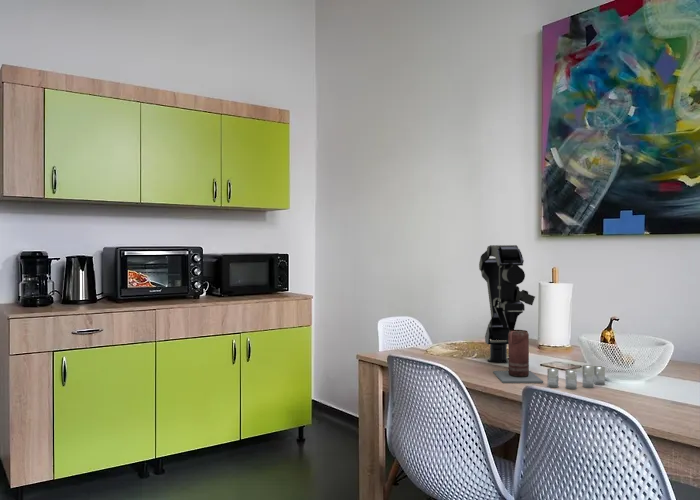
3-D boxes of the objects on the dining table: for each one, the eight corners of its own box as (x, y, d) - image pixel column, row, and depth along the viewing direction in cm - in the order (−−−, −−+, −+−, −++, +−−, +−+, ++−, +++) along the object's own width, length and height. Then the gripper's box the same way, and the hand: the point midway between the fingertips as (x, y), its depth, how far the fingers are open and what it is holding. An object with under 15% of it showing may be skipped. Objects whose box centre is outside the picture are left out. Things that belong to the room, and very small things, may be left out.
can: (504, 375, 180) (503, 330, 180) (516, 372, 184) (515, 328, 184) (520, 378, 175) (520, 332, 175) (532, 375, 179) (532, 330, 179)
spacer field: (545, 385, 169) (545, 365, 169) (598, 378, 177) (598, 359, 177) (564, 391, 162) (564, 370, 162) (618, 384, 170) (618, 363, 170)
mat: (493, 372, 186) (493, 370, 186) (530, 372, 186) (530, 370, 186) (502, 383, 172) (502, 381, 172) (543, 383, 172) (543, 381, 172)
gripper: (540, 284, 181) (541, 334, 181) (524, 281, 200) (525, 326, 200) (505, 284, 182) (505, 334, 182) (492, 281, 200) (492, 326, 200)
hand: (508, 330), depth 191 cm, fingers open, 9 cm apart
